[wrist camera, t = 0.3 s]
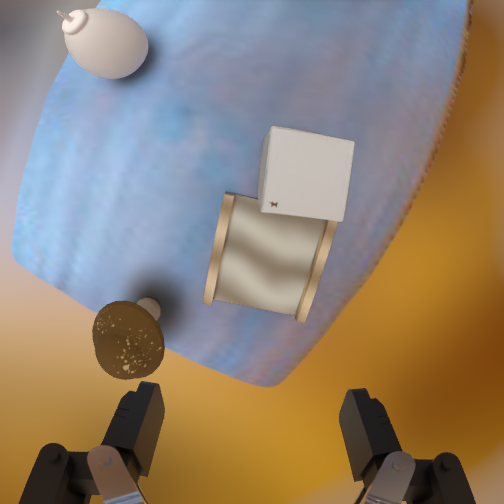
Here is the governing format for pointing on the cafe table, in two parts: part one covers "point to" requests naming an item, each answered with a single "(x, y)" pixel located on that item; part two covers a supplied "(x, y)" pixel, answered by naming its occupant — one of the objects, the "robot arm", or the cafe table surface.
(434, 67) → the cafe table surface
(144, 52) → the sauce bottle
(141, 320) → the mushroom
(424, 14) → the cafe table surface
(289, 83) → the cafe table surface
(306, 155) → the supplement box
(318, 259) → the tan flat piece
